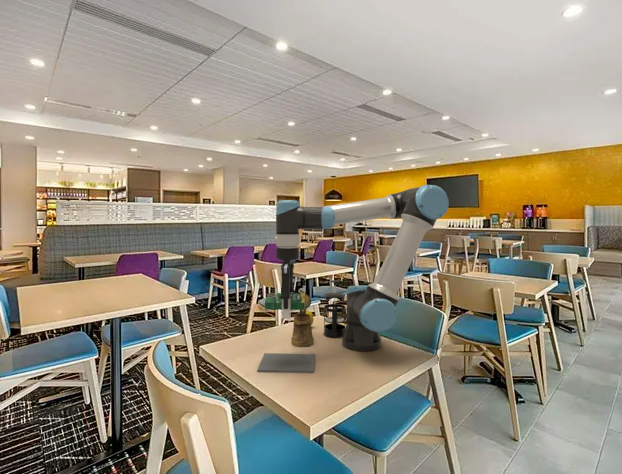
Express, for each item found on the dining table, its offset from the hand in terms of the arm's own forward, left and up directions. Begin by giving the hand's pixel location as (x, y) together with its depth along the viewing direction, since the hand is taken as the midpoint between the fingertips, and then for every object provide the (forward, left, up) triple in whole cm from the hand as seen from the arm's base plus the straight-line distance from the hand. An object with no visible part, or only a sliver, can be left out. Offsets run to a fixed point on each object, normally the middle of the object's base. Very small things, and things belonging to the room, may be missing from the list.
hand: (287, 314), depth 116 cm
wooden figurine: (-4, -22, -17) cm, 28 cm away
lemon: (-5, -39, -17) cm, 43 cm away
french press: (-17, -31, -17) cm, 39 cm away
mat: (0, 0, -17) cm, 17 cm away
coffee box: (+7, 0, +5) cm, 9 cm away
